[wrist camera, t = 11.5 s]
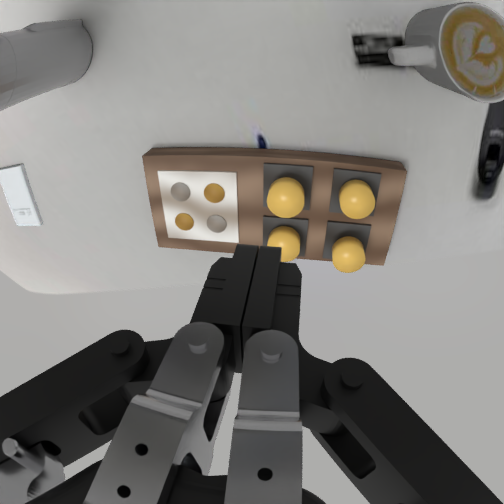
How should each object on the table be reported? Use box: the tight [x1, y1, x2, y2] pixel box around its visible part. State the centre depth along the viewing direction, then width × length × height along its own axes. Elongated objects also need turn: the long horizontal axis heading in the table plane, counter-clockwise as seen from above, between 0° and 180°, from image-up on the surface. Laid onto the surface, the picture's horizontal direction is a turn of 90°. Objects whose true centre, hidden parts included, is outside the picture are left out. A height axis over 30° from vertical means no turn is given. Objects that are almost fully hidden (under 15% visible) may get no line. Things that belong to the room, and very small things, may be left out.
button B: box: [267, 226, 300, 262], centre depth 40 cm, size 4×4×2 cm
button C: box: [339, 180, 375, 219], centre depth 35 cm, size 4×4×2 cm
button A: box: [267, 177, 304, 218], centre depth 35 cm, size 4×4×2 cm
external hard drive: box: [0, 164, 43, 226], centre depth 48 cm, size 2×8×12 cm
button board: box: [142, 147, 407, 266], centre depth 41 cm, size 14×32×4 cm, turn 91°
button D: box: [332, 237, 365, 273], centre depth 38 cm, size 4×4×2 cm
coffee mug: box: [388, 2, 504, 103], centre depth 22 cm, size 13×10×10 cm
